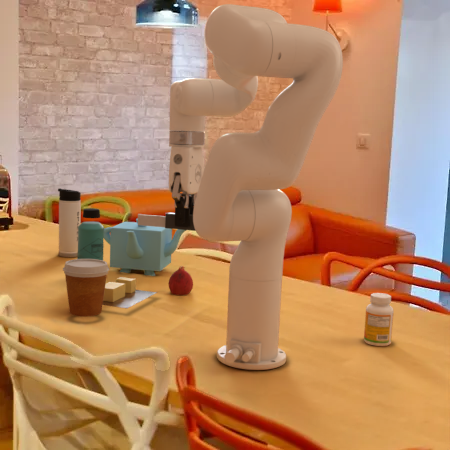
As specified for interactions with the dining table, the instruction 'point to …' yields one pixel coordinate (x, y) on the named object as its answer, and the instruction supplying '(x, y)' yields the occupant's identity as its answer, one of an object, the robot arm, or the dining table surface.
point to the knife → (163, 221)
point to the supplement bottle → (379, 320)
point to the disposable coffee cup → (85, 285)
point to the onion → (180, 282)
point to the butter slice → (128, 284)
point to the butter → (114, 291)
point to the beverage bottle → (90, 236)
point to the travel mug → (69, 222)
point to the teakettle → (141, 246)
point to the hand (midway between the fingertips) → (184, 225)
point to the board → (130, 299)
